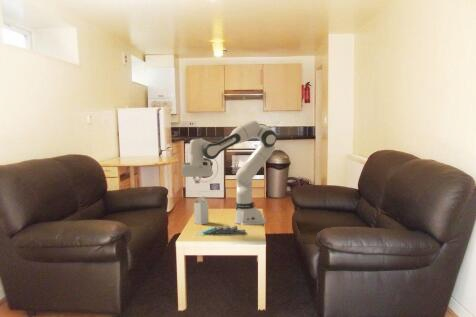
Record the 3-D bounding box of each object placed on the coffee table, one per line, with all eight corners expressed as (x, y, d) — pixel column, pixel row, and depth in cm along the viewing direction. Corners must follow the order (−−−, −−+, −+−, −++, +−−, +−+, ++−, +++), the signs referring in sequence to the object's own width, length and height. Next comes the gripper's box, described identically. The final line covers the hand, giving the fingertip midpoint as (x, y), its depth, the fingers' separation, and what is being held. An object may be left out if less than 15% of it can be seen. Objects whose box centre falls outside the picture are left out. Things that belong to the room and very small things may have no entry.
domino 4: (226, 232, 221) (237, 227, 221) (225, 234, 217) (237, 229, 216) (225, 230, 221) (236, 225, 221) (224, 232, 217) (236, 227, 216)
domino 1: (204, 232, 221) (215, 228, 221) (203, 234, 217) (215, 230, 217) (203, 230, 221) (215, 225, 221) (202, 232, 217) (214, 228, 216)
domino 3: (218, 232, 221) (230, 227, 221) (218, 234, 217) (230, 230, 216) (217, 230, 221) (229, 225, 221) (217, 232, 217) (229, 227, 216)
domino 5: (232, 232, 221) (244, 232, 221) (232, 234, 217) (244, 234, 217) (232, 229, 221) (244, 229, 221) (232, 231, 217) (244, 231, 216)
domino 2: (211, 232, 221) (223, 228, 221) (211, 234, 217) (222, 230, 217) (210, 230, 221) (222, 225, 221) (210, 232, 217) (221, 227, 216)
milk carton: (194, 223, 243) (193, 197, 241) (202, 221, 248) (201, 195, 246) (201, 225, 238) (200, 198, 236) (208, 223, 243) (208, 196, 241)
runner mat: (237, 232, 222) (236, 231, 222) (236, 235, 215) (236, 235, 215) (197, 232, 223) (197, 231, 223) (195, 236, 216) (195, 235, 216)
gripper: (180, 163, 223) (180, 184, 224) (211, 162, 222) (212, 183, 224) (181, 162, 229) (182, 182, 230) (212, 161, 228) (212, 182, 230)
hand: (197, 183), depth 227 cm, fingers closed
